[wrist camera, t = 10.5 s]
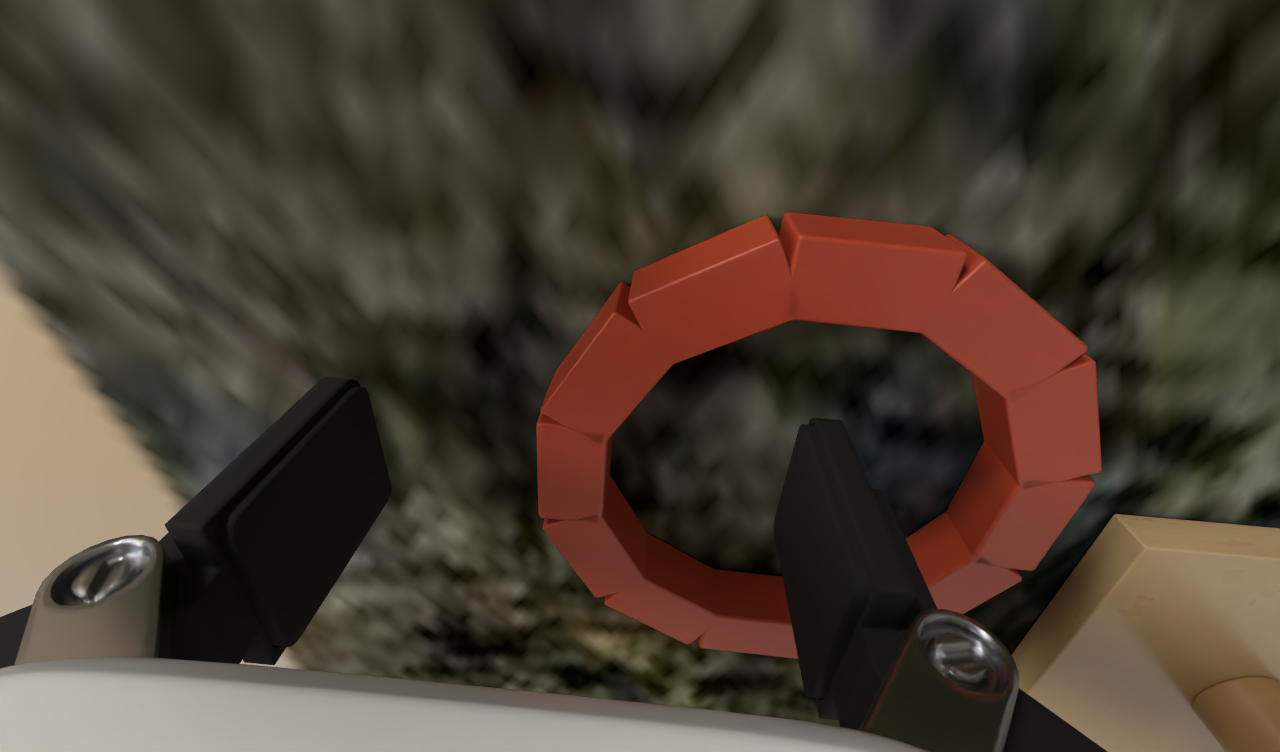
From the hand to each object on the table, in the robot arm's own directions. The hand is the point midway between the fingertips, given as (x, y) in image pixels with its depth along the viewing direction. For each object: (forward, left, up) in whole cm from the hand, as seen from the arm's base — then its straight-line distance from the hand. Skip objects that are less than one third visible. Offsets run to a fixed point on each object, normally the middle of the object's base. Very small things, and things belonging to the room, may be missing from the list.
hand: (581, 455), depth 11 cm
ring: (0, +4, -1) cm, 5 cm away
